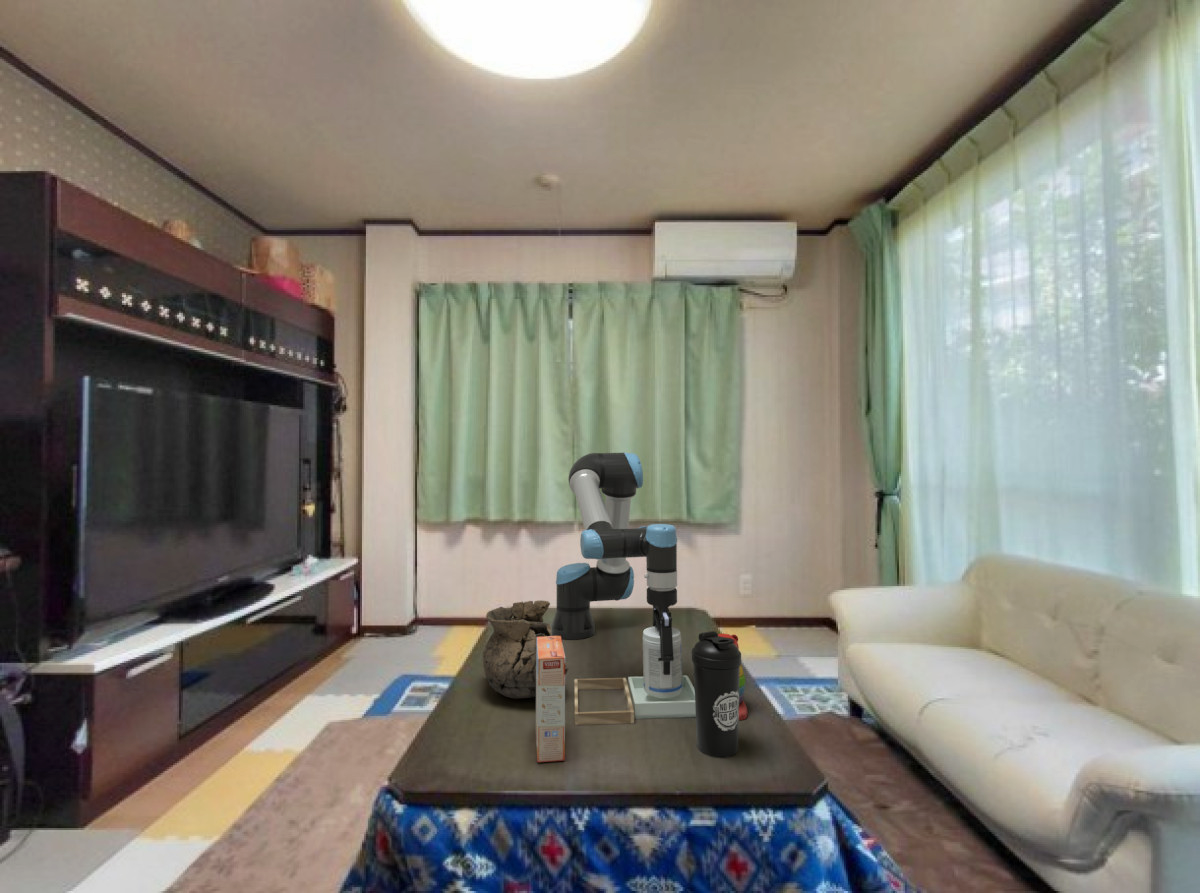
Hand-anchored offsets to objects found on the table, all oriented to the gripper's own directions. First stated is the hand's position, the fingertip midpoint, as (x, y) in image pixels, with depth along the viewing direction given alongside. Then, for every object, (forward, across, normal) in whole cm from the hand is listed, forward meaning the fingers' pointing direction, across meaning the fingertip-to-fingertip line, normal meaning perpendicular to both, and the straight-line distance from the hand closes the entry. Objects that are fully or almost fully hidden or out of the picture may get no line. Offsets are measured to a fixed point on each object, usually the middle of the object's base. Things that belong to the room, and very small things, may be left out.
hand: (662, 678), depth 135 cm
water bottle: (+6, +21, +8) cm, 23 cm away
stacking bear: (+6, +4, +14) cm, 16 cm away
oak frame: (+6, 0, -15) cm, 16 cm away
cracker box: (+6, +18, -27) cm, 33 cm away
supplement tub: (+3, 0, 0) cm, 3 cm away
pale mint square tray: (+6, 0, 0) cm, 6 cm away
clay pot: (+6, -9, -35) cm, 37 cm away
